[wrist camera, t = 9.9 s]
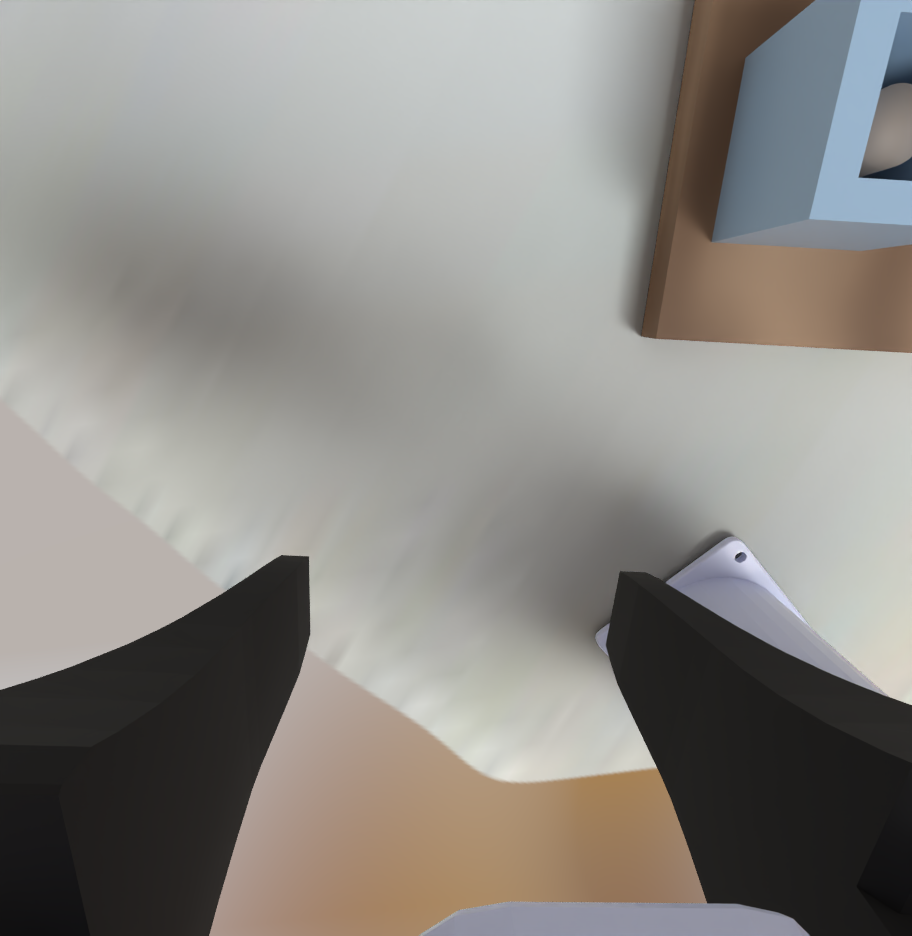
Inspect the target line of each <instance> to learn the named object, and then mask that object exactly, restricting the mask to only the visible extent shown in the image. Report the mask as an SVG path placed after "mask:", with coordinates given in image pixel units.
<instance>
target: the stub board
mask: <svg viewBox="0 0 912 936" xmlns="http://www.w3.org/2000/svg"><path fill="white" fill-rule="evenodd" d="M814 1H815V0H695V3H694V9H693V15H692V22H691V28H690V34H689V40H688V46H687V53H686V59H685V65H684V71H683V78H682V84H681V90H680V96H679V103H678V109H677V115H676V121H675V128H674V134H673V140H672V146H671V153H670V159H669V165H668V171H667V178H666V184H665V190H664V196H663V203H662V209H661V215H660V221H659V228H658V234H657V240H656V246H655V253H654V259H653V265H652V271H651V278H650V284H649V290H648V296H647V303H646V309H645V315H644V321H643V328H642V334H641V336H643V337H649V338H655V339H672V340H690V341H708V342H726V343H744V344H761V345H779V346H797V347H815V348H833V349H851V350H869V351H886V352H904V353H912V244H910V245H903V246H895V247H888V248H880V249H872V250H865V251H853V250H836V249H818V248H801V247H784V246H766V245H749V244H732V243H714V242H712V236H713V231H714V225H715V220H716V215H717V209H718V204H719V198H720V193H721V188H722V182H723V177H724V172H725V166H726V161H727V155H728V150H729V145H730V139H731V134H732V128H733V123H734V118H735V112H736V107H737V102H738V96H739V91H740V85H741V80H742V75H743V69H744V64H745V58H746V57H747V56H748V55H749V54H751V53H752V52H753V51H754V50H756V49H757V48H758V47H759V46H760V45H762V44H763V43H764V42H765V41H766V40H768V39H769V38H770V37H771V36H773V35H774V34H775V33H776V32H777V31H779V30H780V29H781V28H782V27H783V26H785V25H786V24H787V23H788V22H790V21H791V20H792V19H793V18H794V17H796V16H797V15H798V14H799V13H801V12H802V11H803V10H804V9H805V8H807V7H808V6H809V5H810V4H811V3H813V2H814ZM911 157H912V84H909V83H897V84H893V85H890V86H888V87H885V88H883V89H881V91H880V95H879V99H878V103H877V107H876V111H875V115H874V118H873V122H872V126H871V130H870V134H869V138H868V142H867V146H866V150H865V153H864V157H863V161H862V165H861V169H860V173H859V177H858V178H860V177H863V176H866V175H869V174H873V173H876V172H879V171H882V170H885V169H889V168H892V167H895V166H898V165H900V164H902V163H904V162H905V161H907V160H908V159H910V158H911Z"/></svg>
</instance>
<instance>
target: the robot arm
mask: <svg viewBox="0 0 912 936" xmlns="http://www.w3.org/2000/svg"><path fill="white" fill-rule="evenodd" d="M740 552H742V554H741V556H740V557H739V558H736V559H735V556H736V555H737V554H738V553H740ZM309 636H310V594H309V557H307V556H286V555H281V556H279V557H278V558H276V559H274V560H273V561H271V562H270V563H268V564H266V565H265V566H263V567H262V568H260V569H259V570H257V571H256V572H255V573H253V574H252V575H250V576H249V577H247V578H245V579H244V580H242V581H241V582H239V583H238V584H236V585H235V586H233V587H232V588H230V589H229V590H227V591H226V592H224V593H223V594H221V595H219V596H218V597H216V598H214V599H212V600H211V601H209V602H207V603H206V604H204V605H202V606H201V607H199V608H197V609H195V610H194V611H192V612H190V613H189V614H187V615H185V616H184V617H182V618H180V619H178V620H176V621H174V622H173V623H171V624H169V625H167V626H165V627H163V628H161V629H159V630H157V631H155V632H153V633H150V634H149V635H146V636H144V637H142V638H140V639H138V640H136V641H134V642H131V643H129V644H127V645H125V646H122V647H120V648H117V649H115V650H112V651H110V652H107V653H105V654H102V655H100V656H97V657H95V658H92V659H90V660H87V661H85V662H82V663H80V664H77V665H75V666H72V667H69V668H67V669H64V670H61V671H58V672H55V673H52V674H49V675H46V676H43V677H40V678H38V679H35V680H31V681H28V682H25V683H22V684H18V685H15V686H12V687H9V688H6V689H2V690H0V936H209V934H210V930H211V926H212V923H213V919H214V915H215V912H216V908H217V905H218V901H219V898H220V894H221V890H222V887H223V884H224V880H225V877H226V874H227V870H228V867H229V864H230V860H231V856H232V853H233V850H234V847H235V843H236V840H237V836H238V833H239V830H240V827H241V824H242V820H243V817H244V814H245V811H246V808H247V804H248V801H249V798H250V795H251V791H252V788H253V786H254V783H255V780H256V778H257V775H258V772H259V769H260V767H261V764H262V762H263V760H264V757H265V755H266V753H267V750H268V748H269V745H270V743H271V741H272V738H273V736H274V734H275V731H276V729H277V726H278V724H279V722H280V719H281V717H282V714H283V712H284V710H285V707H286V705H287V703H288V700H289V698H290V695H291V692H292V690H293V688H294V685H295V683H296V681H297V678H298V676H299V673H300V669H301V666H302V662H303V659H304V655H305V652H306V648H307V644H308V640H309ZM595 639H596V642H597V644H598V646H599V647H600V648H601V649H602V650H603V651H604V652H605V653H606V654H607V655H608V656H609V658H610V662H611V665H612V668H613V671H614V674H615V677H616V680H617V683H618V686H619V688H620V690H621V692H622V695H623V697H624V699H625V701H626V703H627V705H628V708H629V710H630V712H631V714H632V716H633V718H634V720H635V722H636V724H637V727H638V729H639V731H640V733H641V735H642V737H643V739H644V741H645V743H646V745H647V747H648V750H649V752H650V754H651V756H652V758H653V760H654V762H655V764H656V766H657V768H658V770H659V772H660V774H661V777H662V779H663V781H664V784H665V786H666V788H667V791H668V793H669V795H670V797H671V800H672V803H673V806H674V809H675V811H676V814H677V817H678V820H679V822H680V825H681V828H682V831H683V833H684V836H685V839H686V842H687V845H688V847H689V850H690V853H691V856H692V859H693V862H694V865H695V868H696V871H697V874H698V877H699V880H700V883H701V886H702V889H703V892H704V895H705V898H706V901H707V904H703V903H585V902H579V903H577V902H505V903H498V904H492V905H487V906H481V907H475V908H469V909H463V910H458V911H457V912H455V913H453V914H452V915H450V916H449V917H447V918H445V919H444V920H442V921H441V922H439V923H438V924H436V925H434V926H433V927H431V928H429V929H428V930H426V931H425V932H423V933H422V934H420V935H419V936H912V705H909V704H906V703H904V702H901V701H898V700H895V699H893V698H890V697H889V696H887V695H886V694H885V693H884V692H883V691H882V690H881V689H879V688H878V687H877V686H876V685H875V684H874V683H873V682H871V681H870V680H869V679H868V678H867V677H866V676H865V675H864V674H862V673H861V672H860V671H859V670H858V669H857V668H856V667H854V666H853V665H852V664H851V663H850V662H849V661H848V660H846V659H845V658H844V657H843V656H842V655H841V654H840V653H839V652H837V651H836V650H835V649H834V648H833V647H832V646H831V645H829V644H828V643H827V642H826V641H825V640H824V639H823V638H821V637H820V636H819V635H818V634H817V633H816V632H815V631H813V629H812V628H811V627H810V626H809V624H808V623H807V622H806V620H805V619H804V618H803V617H802V615H801V614H800V613H799V612H798V610H797V609H796V608H795V607H794V605H793V604H792V603H791V602H790V600H789V599H788V598H787V596H786V595H785V594H784V593H783V591H782V590H781V589H780V588H779V586H778V585H777V584H776V583H775V581H774V580H773V579H772V578H771V576H770V575H769V574H768V573H767V571H766V570H765V569H764V567H763V566H762V565H761V564H760V562H759V561H758V560H757V559H756V557H755V556H754V555H753V554H752V552H751V551H750V550H749V549H748V547H747V546H746V545H745V544H744V542H742V541H741V540H740V539H739V538H737V537H734V536H732V537H727V538H725V539H724V540H722V541H721V542H720V543H718V544H717V545H716V546H714V547H713V548H711V549H710V550H709V551H707V552H706V553H705V554H703V555H702V556H700V557H699V558H698V559H696V560H695V561H694V562H692V563H691V564H689V565H688V566H687V567H685V568H684V569H683V570H681V571H680V572H679V573H677V574H676V575H674V576H673V577H672V578H670V579H669V580H668V581H666V582H663V581H661V580H659V579H658V578H656V577H654V576H652V575H650V574H648V573H644V572H623V571H620V574H619V579H618V584H617V589H616V595H615V600H614V605H613V610H612V615H611V620H610V623H609V624H607V625H606V626H604V627H603V628H602V629H600V630H599V631H598V632H597V633H596V636H595Z"/></svg>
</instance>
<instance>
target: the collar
mask: <svg viewBox="0 0 912 936" xmlns="http://www.w3.org/2000/svg"><path fill="white" fill-rule="evenodd" d="M897 83H909V84H912V0H815V1H814V2H813V3H811V4H810V5H809V6H808V7H807V8H805V9H804V10H803V11H802V12H801V13H799V14H798V15H797V16H796V17H794V18H793V19H792V20H791V21H790V22H788V23H787V24H786V25H785V26H783V27H782V28H781V29H780V30H779V31H777V32H776V33H775V34H774V35H773V36H771V37H770V38H769V39H768V40H766V41H765V42H764V43H763V44H762V45H760V46H759V47H758V48H757V49H756V50H754V51H753V52H752V53H751V54H749V55H748V56H747V57H746V58H745V64H744V69H743V75H742V80H741V85H740V91H739V96H738V102H737V107H736V112H735V118H734V123H733V128H732V134H731V139H730V145H729V150H728V155H727V161H726V166H725V172H724V177H723V182H722V188H721V193H720V198H719V204H718V209H717V215H716V220H715V225H714V231H713V236H712V242H714V243H732V244H749V245H766V246H784V247H801V248H818V249H836V250H853V251H865V250H872V249H880V248H888V247H895V246H903V245H910V244H912V157H911V158H910V159H908V160H907V161H905V162H904V163H902V164H900V165H898V166H895V167H892V168H889V169H885V170H882V171H879V172H876V173H873V174H869V175H866V176H863V177H860V178H858V177H859V173H860V169H861V165H862V161H863V157H864V153H865V150H866V146H867V142H868V138H869V134H870V130H871V126H872V122H873V118H874V115H875V111H876V107H877V103H878V99H879V95H880V91H881V89H883V88H885V87H888V86H890V85H893V84H897Z"/></svg>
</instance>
